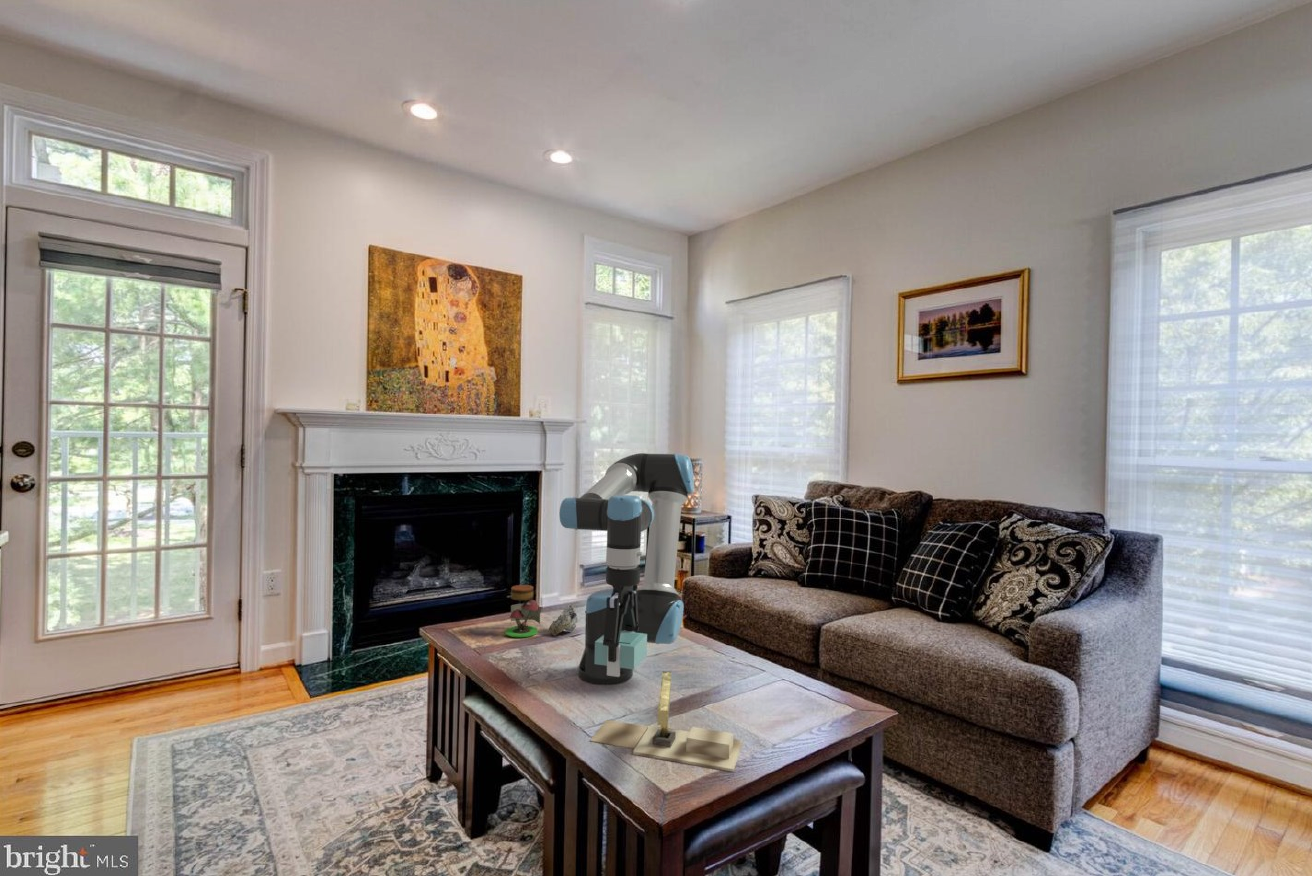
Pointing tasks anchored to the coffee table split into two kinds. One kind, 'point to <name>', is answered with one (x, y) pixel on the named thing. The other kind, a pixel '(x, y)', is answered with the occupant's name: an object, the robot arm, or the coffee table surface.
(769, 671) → the coffee table surface
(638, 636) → the cover
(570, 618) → the mineral specimen
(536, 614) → the mushroom figurine
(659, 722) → the t key
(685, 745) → the housing
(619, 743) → the pad
